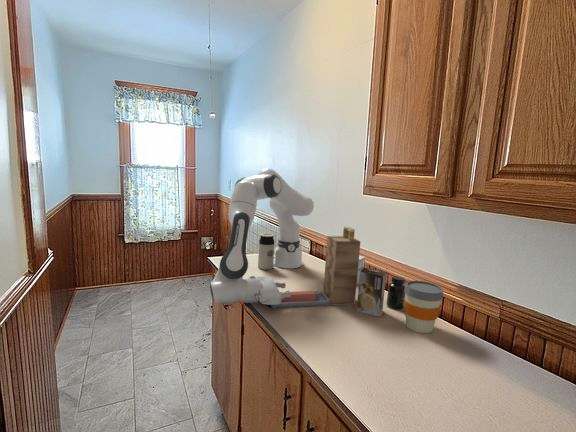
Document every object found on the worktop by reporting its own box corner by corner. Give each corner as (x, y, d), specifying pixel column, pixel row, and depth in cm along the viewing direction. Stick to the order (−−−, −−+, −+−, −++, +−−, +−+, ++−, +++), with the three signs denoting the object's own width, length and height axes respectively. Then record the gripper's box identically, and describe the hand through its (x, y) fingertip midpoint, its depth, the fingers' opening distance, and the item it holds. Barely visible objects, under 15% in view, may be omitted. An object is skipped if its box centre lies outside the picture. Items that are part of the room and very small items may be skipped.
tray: (267, 297, 134) (267, 293, 133) (322, 295, 140) (322, 291, 139) (272, 308, 124) (272, 304, 124) (331, 305, 130) (331, 301, 130)
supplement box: (356, 285, 154) (359, 259, 152) (342, 281, 159) (344, 256, 157) (363, 281, 160) (365, 256, 158) (349, 277, 164) (351, 253, 162)
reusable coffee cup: (418, 338, 108) (423, 295, 106) (393, 320, 120) (397, 281, 117) (446, 332, 113) (452, 291, 111) (419, 316, 124) (424, 279, 122)
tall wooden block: (322, 295, 140) (328, 225, 135) (344, 294, 142) (350, 225, 138) (331, 305, 130) (337, 230, 126) (354, 303, 133) (361, 230, 128)
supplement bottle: (405, 311, 129) (408, 281, 127) (387, 308, 130) (390, 279, 128) (402, 304, 135) (405, 276, 134) (385, 301, 137) (388, 274, 135)
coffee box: (383, 311, 127) (387, 271, 125) (379, 317, 122) (384, 276, 119) (360, 305, 132) (363, 267, 129) (355, 311, 126) (359, 271, 123)
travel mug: (255, 265, 174) (257, 232, 172) (269, 264, 178) (271, 232, 175) (261, 270, 167) (262, 236, 165) (275, 269, 171) (277, 235, 168)
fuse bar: (274, 299, 131) (275, 292, 130) (317, 297, 135) (317, 290, 135) (276, 302, 128) (276, 295, 127) (319, 300, 132) (320, 293, 132)
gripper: (257, 293, 116) (295, 291, 119) (250, 274, 136) (282, 273, 139) (256, 310, 117) (293, 308, 120) (249, 288, 137) (281, 287, 140)
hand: (287, 289), depth 130 cm, fingers open, 7 cm apart
